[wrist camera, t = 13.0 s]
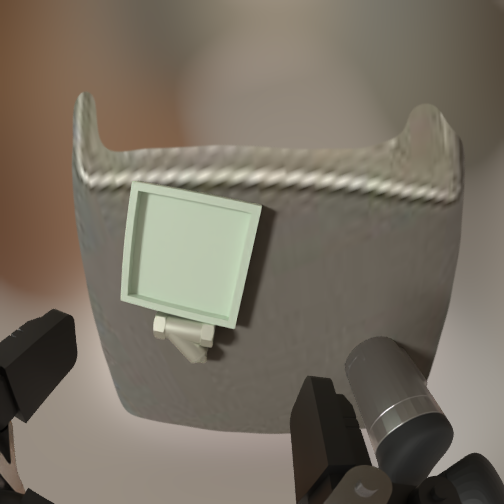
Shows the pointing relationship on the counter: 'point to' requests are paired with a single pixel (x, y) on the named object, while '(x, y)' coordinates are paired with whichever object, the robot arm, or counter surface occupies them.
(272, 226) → the counter surface
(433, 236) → the counter surface
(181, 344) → the pipe fitting
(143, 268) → the tray
